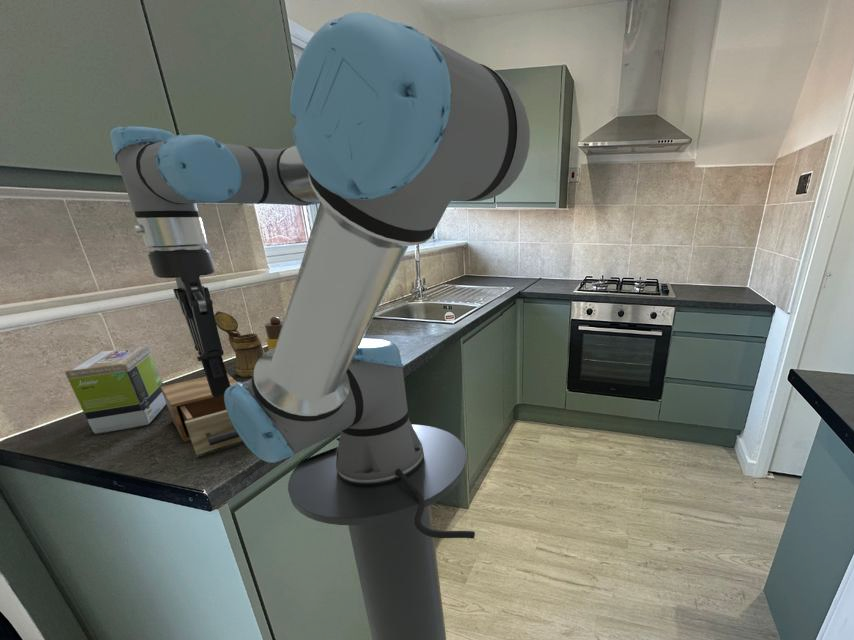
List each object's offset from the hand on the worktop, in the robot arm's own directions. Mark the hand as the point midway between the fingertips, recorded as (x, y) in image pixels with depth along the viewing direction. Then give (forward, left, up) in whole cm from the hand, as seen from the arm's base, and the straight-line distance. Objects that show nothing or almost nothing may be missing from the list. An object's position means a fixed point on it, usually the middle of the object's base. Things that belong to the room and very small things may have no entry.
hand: (222, 393), depth 71 cm
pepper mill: (+20, -16, -14) cm, 29 cm away
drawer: (+12, 0, -13) cm, 18 cm away
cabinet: (+25, 0, -14) cm, 29 cm away
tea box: (+42, +12, -14) cm, 46 cm away
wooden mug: (+58, -16, -14) cm, 62 cm away
